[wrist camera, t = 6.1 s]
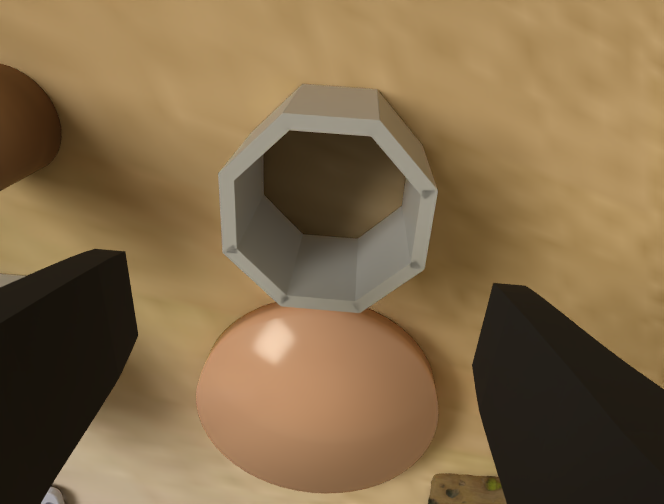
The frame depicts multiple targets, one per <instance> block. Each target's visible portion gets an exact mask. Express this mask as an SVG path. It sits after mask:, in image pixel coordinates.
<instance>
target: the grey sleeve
mask: <svg viewBox="0 0 664 504" xmlns="http://www.w3.org/2000/svg"><path fill="white" fill-rule="evenodd" d="M289 130H293V131H306V132H319V133H333V134H346V135H359V136H371V137H372V138H373V139H374V140H375V141H376V143H377V144H378V145H379V146H380V147H381V149H382V150H383V151H384V152H385V153H386V154H387V156H388V157H389V158H390V159H391V160H392V162H393V163H394V164H395V165H396V166H397V167H398V169H399V170H400V171H401V172H402V173H403V175H404V176H405V177H406V179H405V187H404V194H403V201H402V206H401V207H399V208H398V209H397V210H395V211H394V212H393V213H391V214H390V215H389V216H387V217H386V218H385V219H383V220H382V221H381V222H379V223H378V224H377V225H375V226H374V227H373V228H371V229H370V230H369V231H367V232H366V233H365V234H363V235H362V236H361V237H359V238H358V239H356V238H344V237H331V236H319V235H307V234H302V233H301V232H300V231H299V230H298V229H297V228H296V227H295V226H294V225H293V224H292V223H291V222H290V221H289V220H288V219H287V218H286V217H285V216H284V215H283V214H282V213H281V212H280V211H279V210H278V209H277V208H276V207H275V206H274V205H273V204H272V202H271V201H270V200H269V199H268V198H267V197H266V196H265V195H264V158H263V154H264V153H265V152H266V151H267V150H268V149H269V148H270V147H271V146H273V145H274V144H275V143H276V142H277V141H278V140H279V139H280V138H281V137H282V136H284V135H285V134H286V133H287V132H288V131H289ZM218 178H219V196H220V214H221V232H222V250H223V254H225V255H226V256H227V257H228V258H229V259H230V260H231V261H232V262H233V263H234V264H235V265H237V266H238V267H239V268H240V269H241V270H242V271H243V272H244V273H245V274H246V275H247V276H248V277H250V278H251V279H252V280H253V281H254V282H255V283H256V284H257V285H258V286H259V287H260V288H261V289H263V290H264V291H265V292H266V293H267V294H268V295H269V296H270V297H271V298H272V299H273V300H274V301H276V302H277V303H278V304H279V305H280V306H282V307H294V308H306V309H317V310H329V311H341V312H352V313H359V312H360V313H361V312H362V311H364V310H365V309H367V308H368V307H370V306H371V305H373V304H374V303H375V302H377V301H378V300H380V299H381V298H383V297H384V296H386V295H387V294H389V293H390V292H392V291H393V290H395V289H396V288H398V287H399V286H401V285H402V284H404V283H405V282H407V281H408V280H410V279H411V278H413V277H414V276H415V275H417V274H418V273H420V272H421V271H423V270H424V269H425V263H426V257H427V252H428V246H429V240H430V234H431V228H432V223H433V217H434V211H435V205H436V199H437V194H438V189H437V186H436V183H435V181H434V178H433V175H432V172H431V169H430V166H429V163H428V160H427V157H426V154H425V151H424V148H423V145H422V144H421V143H420V142H419V140H418V139H417V138H416V137H415V135H414V134H413V133H412V132H411V130H410V129H409V128H408V127H407V125H406V124H405V123H404V122H403V121H402V119H401V118H400V117H399V116H398V114H397V113H396V112H395V111H394V109H393V108H392V107H391V106H390V104H389V103H388V102H387V101H386V100H385V98H384V97H383V96H382V95H381V93H380V92H379V91H378V90H377V89H367V88H353V87H339V86H325V85H311V84H302V85H301V86H300V87H299V88H298V89H297V90H295V91H294V92H293V93H292V94H291V95H290V96H289V97H288V98H287V99H286V100H285V101H284V102H283V103H282V104H281V105H280V106H279V107H278V108H276V109H275V110H274V111H273V112H272V113H271V114H270V115H269V116H268V117H267V118H266V119H265V120H264V121H263V122H262V123H261V124H260V125H259V126H257V127H256V128H255V129H254V130H253V131H252V132H251V133H250V135H249V136H248V137H247V138H246V140H245V141H244V142H243V143H242V145H241V146H240V147H239V148H238V149H237V151H236V152H235V153H234V154H233V156H232V157H231V158H230V159H229V161H228V162H227V163H226V164H225V166H224V167H223V168H222V169H221V171H220V172H219V173H218Z"/></svg>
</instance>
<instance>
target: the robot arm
mask: <svg viewBox="0 0 664 504" xmlns="http://www.w3.org/2000/svg"><path fill="white" fill-rule="evenodd" d="M137 337H138V330H137V324H136V317H135V311H134V305H133V298H132V292H131V285H130V279H129V273H128V266H127V260H126V253H125V251H113V250H102V249H93V250H90V251H86V252H83V253H81V254H78V255H75V256H73V257H70V258H68V259H65V260H63V261H60V262H58V263H55V264H53V265H51V266H48V267H46V268H44V269H41V270H39V271H37V272H35V273H32V274H30V275H28V276H25V277H23V278H21V279H18V280H16V281H14V282H11V283H9V284H7V285H5V286H2V287H0V504H65V503H64V500H63V497H62V494H61V492H60V491H59V490H58V489H56V488H54V487H51V485H52V483H53V482H54V480H55V478H56V477H57V475H58V474H59V472H60V471H61V469H62V467H63V466H64V464H65V463H66V461H67V460H68V458H69V456H70V455H71V453H72V452H73V450H74V449H75V447H76V446H77V444H78V442H79V441H80V439H81V438H82V436H83V435H84V433H85V431H86V430H87V428H88V427H89V425H90V424H91V422H92V421H93V419H94V417H95V416H96V414H97V413H98V411H99V410H100V408H101V406H102V405H103V403H104V402H105V400H106V398H107V397H108V395H109V394H110V392H111V390H112V389H113V387H114V385H115V384H116V382H117V380H118V379H119V377H120V375H121V373H122V371H123V368H124V366H125V364H126V362H127V360H128V358H129V356H130V353H131V351H132V349H133V346H134V344H135V342H136V339H137ZM472 367H473V374H474V381H475V388H476V395H477V401H478V406H479V412H480V415H481V419H482V423H483V426H484V429H485V433H486V436H487V440H488V443H489V446H490V450H491V453H492V456H493V460H494V463H495V466H496V470H497V473H498V476H499V480H500V483H501V486H502V490H503V493H504V496H505V499H506V503H507V504H664V389H662V388H661V387H660V386H658V385H657V384H655V383H654V382H652V381H651V380H650V379H648V378H647V377H645V376H644V375H643V374H641V373H640V372H638V371H637V370H635V369H634V368H633V367H631V366H630V365H629V364H627V363H626V362H624V361H623V360H622V359H620V358H619V357H618V356H616V355H615V354H614V353H612V352H611V351H610V350H608V349H607V348H606V347H604V346H603V345H602V344H601V343H599V342H598V341H597V340H595V339H594V338H593V337H592V336H590V335H589V334H588V333H586V332H585V331H584V330H583V329H581V328H580V327H579V326H578V325H576V324H575V323H574V322H573V321H571V320H570V319H569V318H568V317H566V316H565V315H564V314H563V313H561V312H560V311H559V310H558V309H556V308H555V307H554V306H552V305H551V304H550V303H549V302H547V301H546V300H545V299H543V298H542V297H541V296H539V295H538V294H537V293H535V292H534V291H533V290H531V289H529V288H528V287H526V286H522V285H510V284H498V283H493V286H492V290H491V294H490V298H489V302H488V306H487V310H486V314H485V317H484V321H483V325H482V329H481V333H480V337H479V341H478V344H477V348H476V352H475V356H474V360H473V364H472Z"/></svg>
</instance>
